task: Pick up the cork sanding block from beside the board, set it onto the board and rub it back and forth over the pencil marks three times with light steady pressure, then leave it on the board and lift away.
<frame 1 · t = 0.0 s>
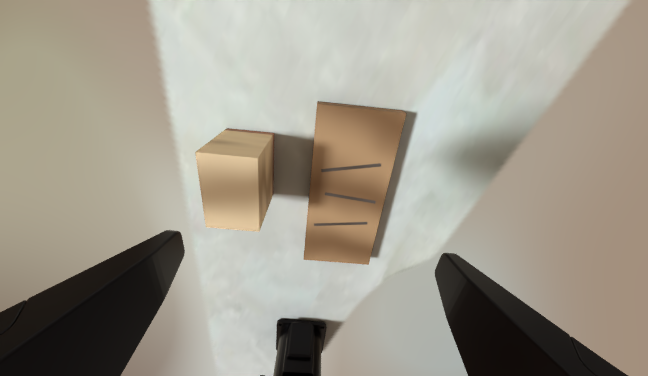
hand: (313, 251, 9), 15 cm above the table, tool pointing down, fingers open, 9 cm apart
board: (346, 191, 24), on the table
sanding block: (251, 162, 23), on the table
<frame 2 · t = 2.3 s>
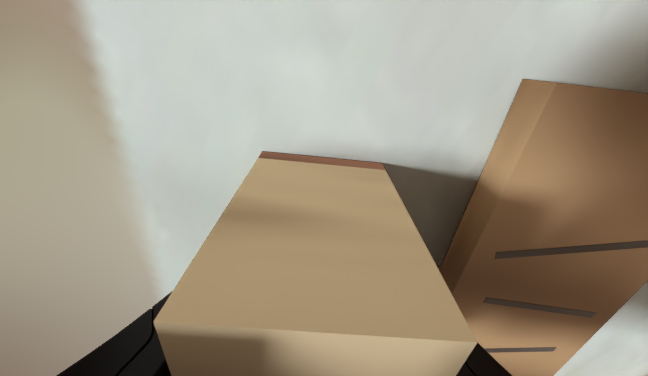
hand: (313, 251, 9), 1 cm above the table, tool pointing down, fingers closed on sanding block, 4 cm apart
board: (513, 283, 11), on the table
sanding block: (315, 229, 10), on the table, touching gripper
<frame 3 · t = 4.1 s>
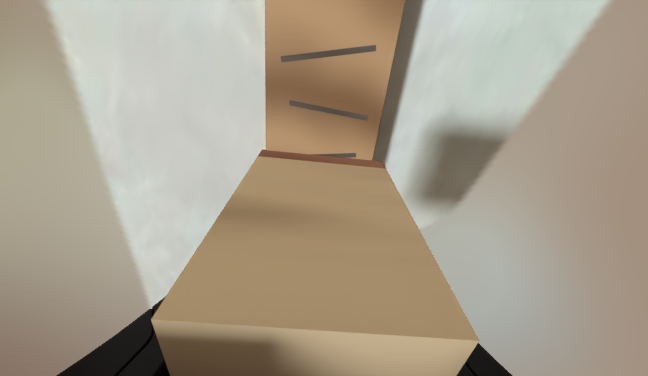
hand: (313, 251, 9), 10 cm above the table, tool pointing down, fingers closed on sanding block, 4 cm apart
board: (324, 106, 16), on the table
sanding block: (314, 228, 10), point 9 cm above the table, touching gripper
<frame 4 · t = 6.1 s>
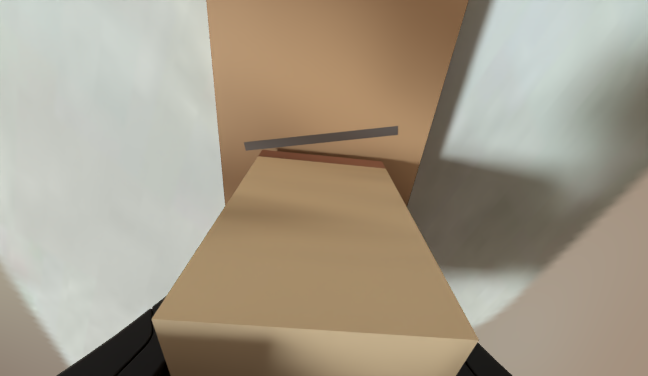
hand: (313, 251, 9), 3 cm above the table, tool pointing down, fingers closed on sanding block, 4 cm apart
board: (316, 197, 11), on the table
sanding block: (314, 228, 10), point 2 cm above the table, touching gripper
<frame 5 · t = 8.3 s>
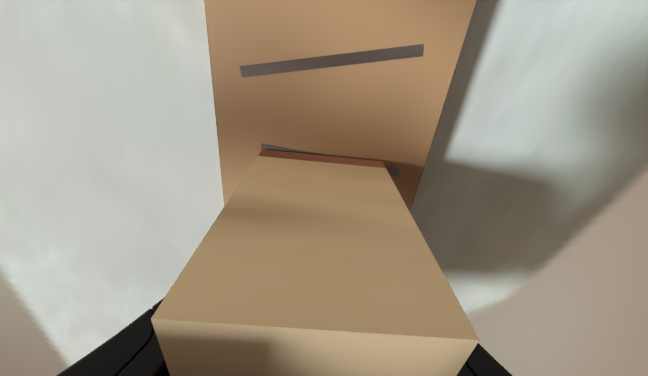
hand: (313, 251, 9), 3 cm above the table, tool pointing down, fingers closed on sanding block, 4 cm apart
board: (323, 147, 10), on the table
sanding block: (315, 228, 10), point 1 cm above the table, touching gripper
when the fingers open (3 cm above the table, at t = 10.1 s): sanding block stays where it is, resting on board.
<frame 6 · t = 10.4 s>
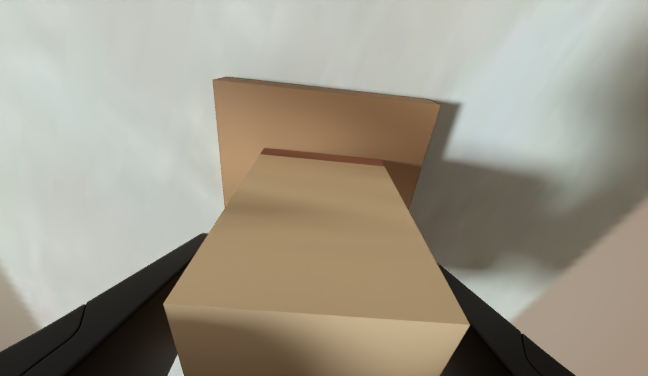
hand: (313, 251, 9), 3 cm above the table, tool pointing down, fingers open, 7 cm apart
board: (310, 259, 12), on the table
sanding block: (315, 225, 10), point 1 cm above the table, touching board
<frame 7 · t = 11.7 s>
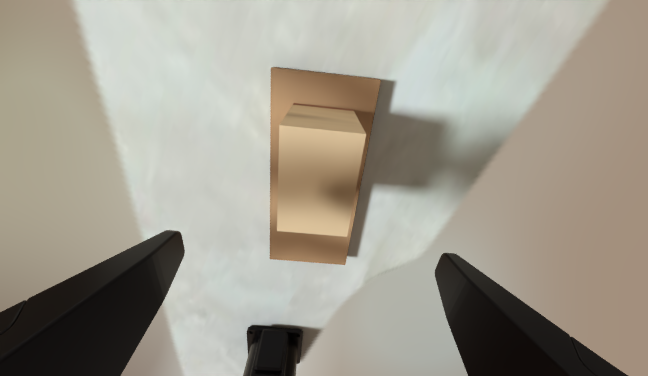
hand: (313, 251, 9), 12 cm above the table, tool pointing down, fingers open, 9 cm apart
board: (315, 179, 21), on the table
sanding block: (319, 148, 18), point 1 cm above the table, touching board
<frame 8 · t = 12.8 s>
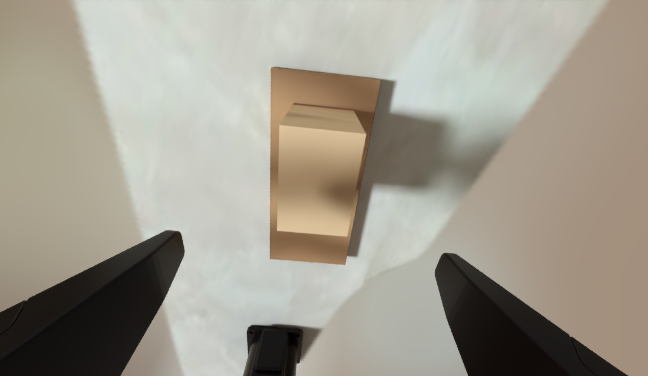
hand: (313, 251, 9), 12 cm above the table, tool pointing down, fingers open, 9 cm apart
board: (315, 178, 21), on the table
sanding block: (319, 148, 18), point 1 cm above the table, touching board
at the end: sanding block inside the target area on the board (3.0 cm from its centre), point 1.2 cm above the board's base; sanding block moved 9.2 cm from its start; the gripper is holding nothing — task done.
